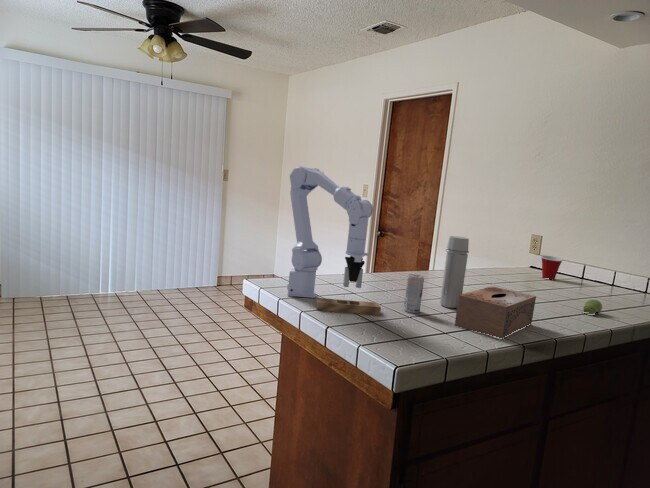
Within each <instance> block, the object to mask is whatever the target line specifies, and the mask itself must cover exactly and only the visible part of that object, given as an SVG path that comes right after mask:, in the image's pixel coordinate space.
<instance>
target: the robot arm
mask: <svg viewBox="0 0 650 488" xmlns="http://www.w3.org/2000/svg"><path fill="white" fill-rule="evenodd" d="M289 180H290V193H289V194H290V202H291V209H292V217H293V223H294V224H293V225H294V230H295V236H296V237H295V238H296V244H295V245H294V246H293V247H292V248H291V251H292V255H291V264H292V266H293V268H289V275H288V284H287V287H286V288H287V289H286V290H287V296H289V297H299V298H309V299H310V298H313V299H315V298H316V291H315V287H316V286H315V285H316V277H317V276H316V275H317V271H318V269H319V268H318V267H320V266H321V264H322V261H323V258H322V254H321V252H320V249H319V246H318V244H316V242H314V240H313V239H314V238H313V234H312V227H311V225H312V224H311V220H310V212H309V204H308V195H309V194H310V193H311V192H313V191H314V190H315V189H316V188H317V187H318V186H319V187H320V188H321V189H323V190H324V191H326V192H328V193H329V194H331V196H333V201H334V202H335V203H336V204H337V205H339V206H340V207H341V208H343V209H344V210H346V213H347V215H348V222H349V224H348V225H349V226H348V233H347V245H346V251H345V255H347V256H344V259H345V262H346V267H349V283H356V282H357V279H358V276H359V273H360V270H361V268H362V269H363V266H364V265H365V263H366V262H365V260H364V259H363V257H366V256H369V253H368V252H366V242H367V234H368V233H367V232H368V225H369V218H370V217H372V215H373V211H374V207H373V204H372V203H371V202H370V201H369V199H368V200H367V199H362V196H360V195H357V194H356V193H354V192H353V191H352V188H350V187H349V186H341V187H340V186H339V185H338V184H336V183H335V182H334V181H333V180H332V179H331V178H330V177H328V176H327V175H326V174H325V173H324V171H321V170H320V169H318V168H316V167H315V168H313V167H312V168H311V167H304V166H300V165H299V166H295V167H294V168H293V170H292V172H290V175H289Z"/></svg>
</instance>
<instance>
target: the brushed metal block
mask: <svg viewBox="0 0 650 488" xmlns="http://www.w3.org/2000/svg"><path fill="white" fill-rule="evenodd" d="M363 274H364V269H363V267H362V268H361V270H360V273H359V276H358V279H357V282H355V288H356V289H362V282H363ZM349 285H350V280H349V267H347V266H344V274H343V282H342V286H343V287H344V288H349Z"/></svg>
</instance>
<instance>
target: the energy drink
mask: <svg viewBox="0 0 650 488" xmlns="http://www.w3.org/2000/svg"><path fill="white" fill-rule="evenodd" d="M424 283H425V278H424V276H423V275H421V274H415V273H414V274H413V273H411V274H408V276H407V280H406V287H405V294H404V301H403V302H404V303H403V311H405V312H406V313H409V314H418V313H420V312H421V304H422V296H423V289H424Z"/></svg>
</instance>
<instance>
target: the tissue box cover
mask: <svg viewBox="0 0 650 488" xmlns="http://www.w3.org/2000/svg"><path fill="white" fill-rule="evenodd" d="M536 300H537V296H536V295H532V294H528V293H523V292H519V291H513V290H511V289H506V288H502V287H498V286H487V287H485V288H481V289H477V290H473V291H469V292H465V293H462V294H461V295H459V299H458V306H457V308H456V315H455V320H454V326H455V327H457V326H458V327H457V328H460V327H462V328H461V329H464V328H466V329H465V330H467V329H469V330H468V331H470V330H473V331H477V332H481V333H485V334H489V335H492V336H496V337H499V338H503V337H505V336H507V335H509V334H511V333H512V332H514V331H516V330H518V329H521V328H523V327H525V326H527V325H529V324H531V323H533V316H534V311H535V305H536ZM531 325H532V324H531ZM473 331H472V332H473ZM477 332H476V333H477Z"/></svg>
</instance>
